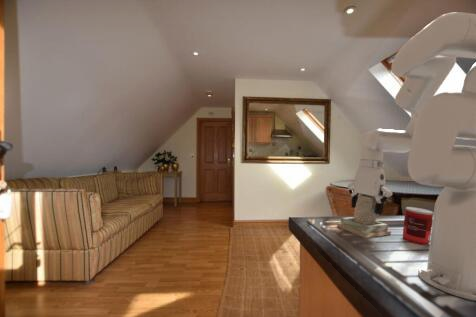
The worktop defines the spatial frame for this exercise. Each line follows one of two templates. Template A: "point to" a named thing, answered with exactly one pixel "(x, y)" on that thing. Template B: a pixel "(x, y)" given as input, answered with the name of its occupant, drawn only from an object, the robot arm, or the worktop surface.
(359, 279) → the worktop surface
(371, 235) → the beige shallow tray
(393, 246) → the worktop surface
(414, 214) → the canned food
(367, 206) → the carving
